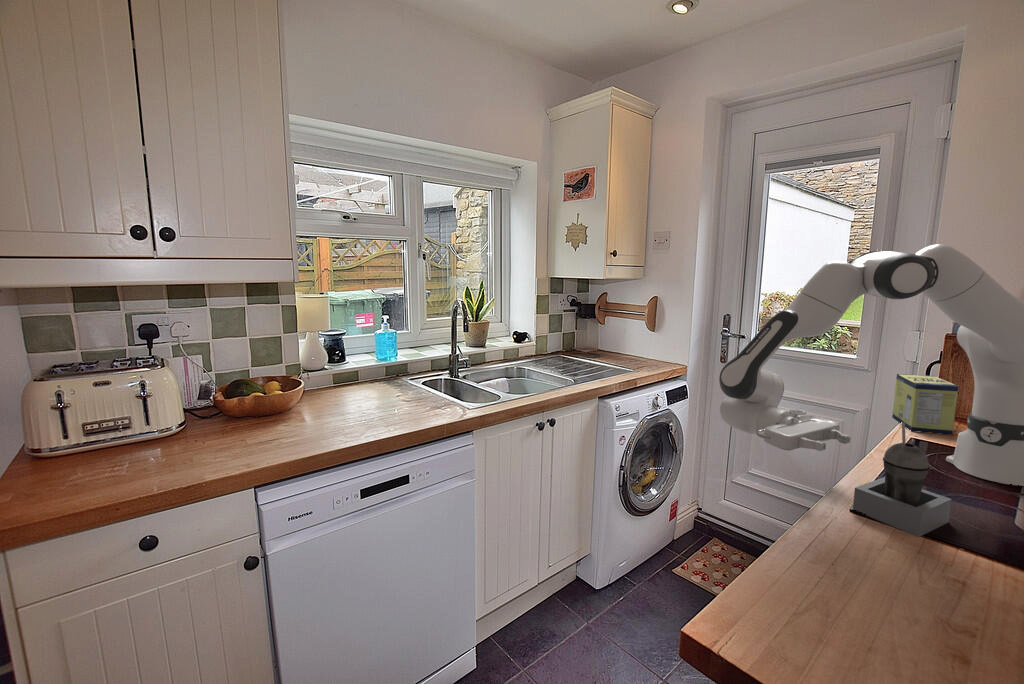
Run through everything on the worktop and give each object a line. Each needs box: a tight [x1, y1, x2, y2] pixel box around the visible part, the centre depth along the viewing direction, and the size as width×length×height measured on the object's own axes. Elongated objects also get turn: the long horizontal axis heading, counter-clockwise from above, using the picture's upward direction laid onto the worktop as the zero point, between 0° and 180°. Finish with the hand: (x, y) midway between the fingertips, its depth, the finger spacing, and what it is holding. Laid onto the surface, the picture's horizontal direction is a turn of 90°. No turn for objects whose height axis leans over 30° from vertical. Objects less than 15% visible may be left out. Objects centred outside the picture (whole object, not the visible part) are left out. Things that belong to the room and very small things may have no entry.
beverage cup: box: [882, 423, 930, 507], centre depth 93 cm, size 7×7×20 cm
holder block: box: [852, 476, 953, 538], centre depth 95 cm, size 12×12×5 cm
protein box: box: [891, 373, 959, 435], centre depth 148 cm, size 10×16×16 cm
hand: (836, 443), depth 105 cm, fingers open, 8 cm apart
